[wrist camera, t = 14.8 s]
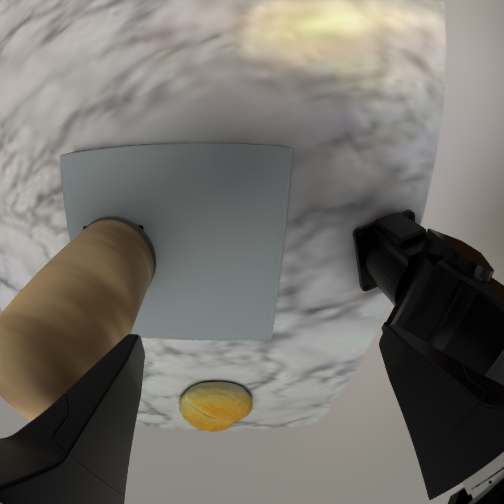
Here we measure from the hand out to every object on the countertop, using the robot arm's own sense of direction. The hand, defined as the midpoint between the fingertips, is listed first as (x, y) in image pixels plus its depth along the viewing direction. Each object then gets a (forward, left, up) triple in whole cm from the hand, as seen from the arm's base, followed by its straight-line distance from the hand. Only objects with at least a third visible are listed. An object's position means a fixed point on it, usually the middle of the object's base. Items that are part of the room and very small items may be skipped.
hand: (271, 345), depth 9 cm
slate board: (0, +6, -13) cm, 14 cm away
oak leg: (+1, +10, -13) cm, 16 cm away
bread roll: (-21, +11, -14) cm, 27 cm away
